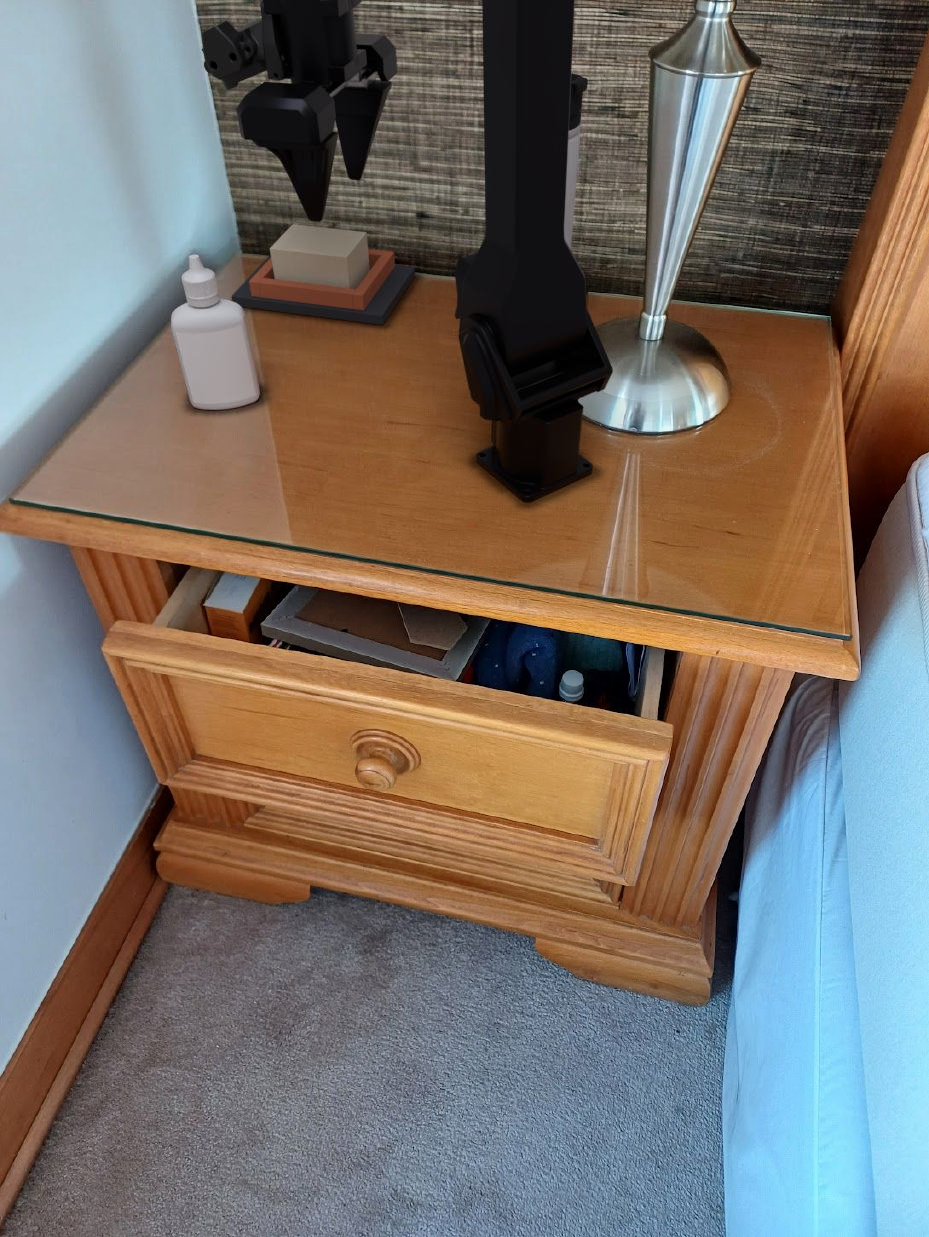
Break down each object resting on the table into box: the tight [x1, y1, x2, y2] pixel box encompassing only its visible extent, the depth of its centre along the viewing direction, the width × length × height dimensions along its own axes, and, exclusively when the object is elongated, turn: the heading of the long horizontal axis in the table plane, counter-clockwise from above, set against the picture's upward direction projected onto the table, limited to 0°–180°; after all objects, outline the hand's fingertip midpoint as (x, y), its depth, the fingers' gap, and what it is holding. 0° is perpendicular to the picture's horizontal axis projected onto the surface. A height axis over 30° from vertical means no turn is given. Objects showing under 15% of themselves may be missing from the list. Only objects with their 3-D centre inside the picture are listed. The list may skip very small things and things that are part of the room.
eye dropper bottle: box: [170, 254, 261, 411], centre depth 70 cm, size 4×6×12 cm
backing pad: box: [231, 248, 416, 326], centre depth 87 cm, size 15×10×2 cm, turn 75°
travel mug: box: [564, 72, 589, 250], centre depth 76 cm, size 6×7×20 cm
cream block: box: [269, 223, 370, 289], centre depth 85 cm, size 8×6×4 cm
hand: (336, 199), depth 76 cm, fingers open, 9 cm apart
